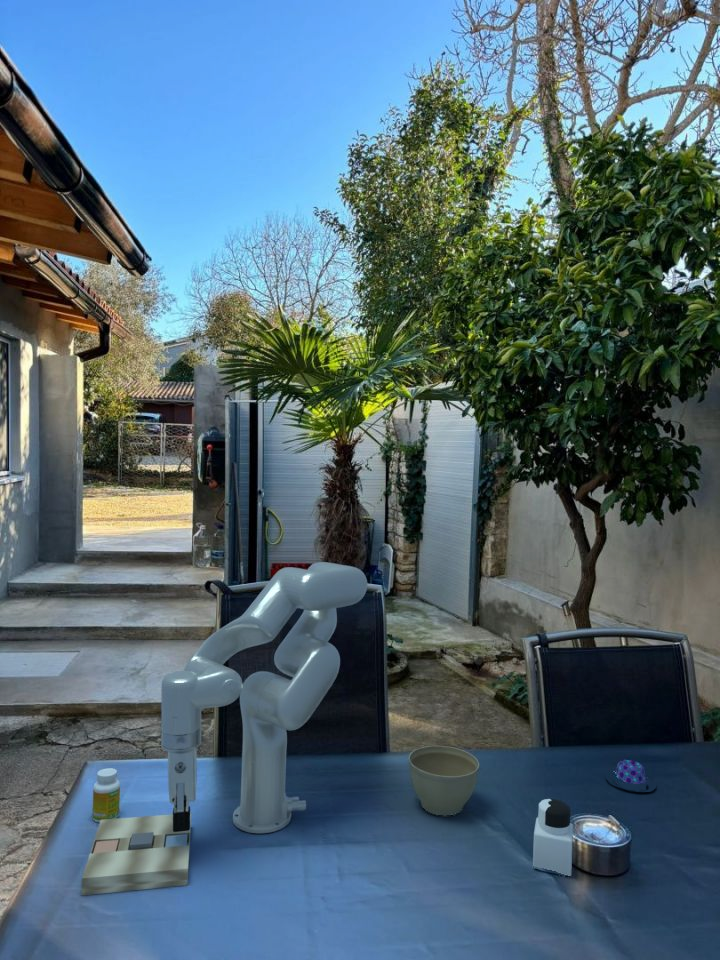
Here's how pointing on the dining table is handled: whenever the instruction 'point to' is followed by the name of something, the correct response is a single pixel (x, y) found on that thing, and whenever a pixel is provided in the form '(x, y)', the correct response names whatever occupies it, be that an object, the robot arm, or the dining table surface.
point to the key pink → (106, 846)
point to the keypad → (136, 857)
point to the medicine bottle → (553, 837)
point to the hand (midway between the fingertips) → (181, 828)
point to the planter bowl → (443, 778)
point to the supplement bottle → (106, 795)
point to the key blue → (176, 840)
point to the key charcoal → (141, 841)
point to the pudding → (630, 772)
